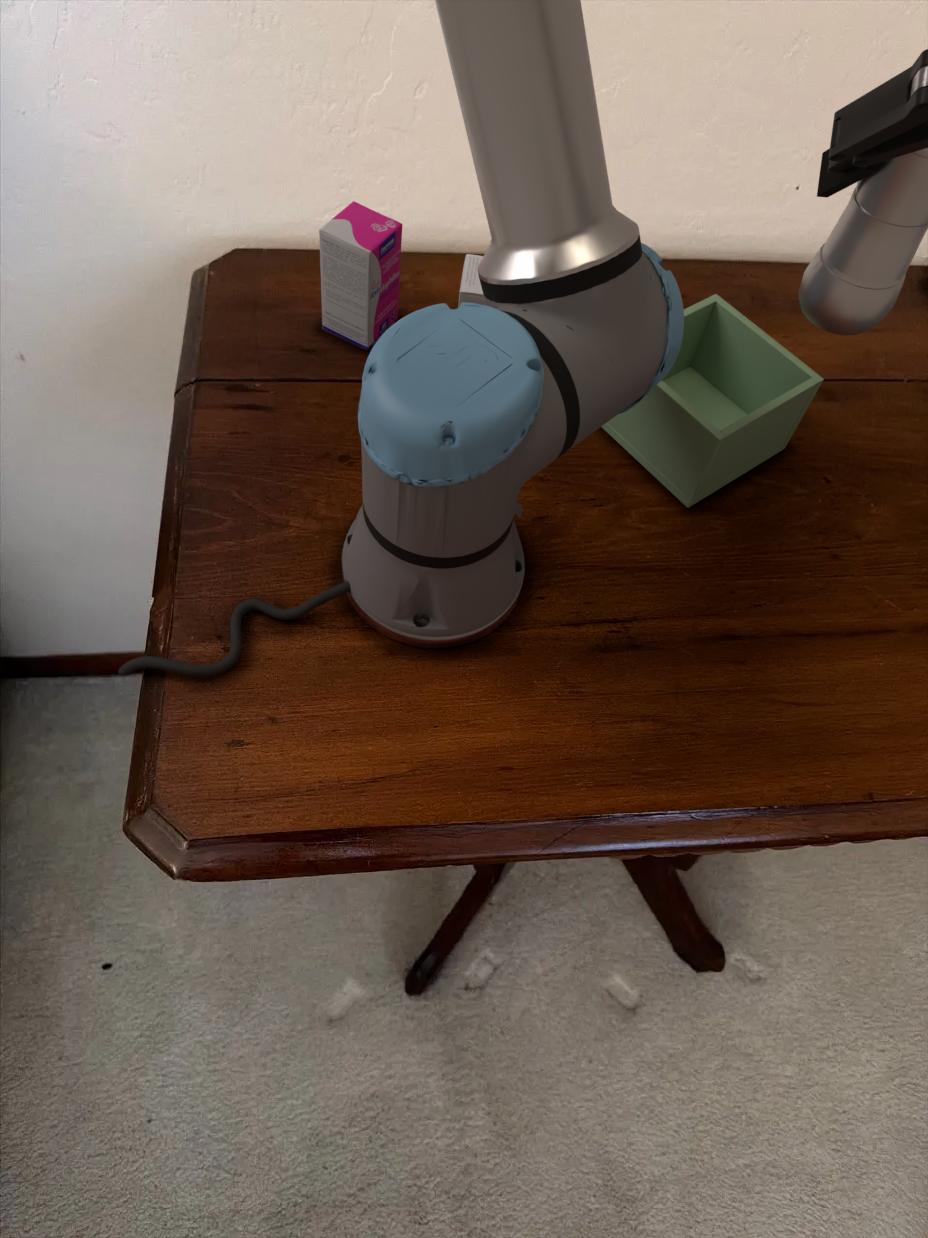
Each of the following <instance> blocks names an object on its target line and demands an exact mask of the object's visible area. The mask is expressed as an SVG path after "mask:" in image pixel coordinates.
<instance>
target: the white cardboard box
mask: <svg viewBox="0 0 928 1238" xmlns="http://www.w3.org/2000/svg"><path fill="white" fill-rule="evenodd" d="M483 256H484V255H478V254H471V253H466V254H465V257H464V261H463V266H462V273H461V280H460V285H459V293H458V302H457V303H458V305H457V308H459V306H460V304H461V303H462V302H469V303H476V304H482V305H486V303H485V299H484V295H483V291H482V287H481V283H480V279H479V275H478V265H479V263H480V262H481V260H482V258H483Z"/></svg>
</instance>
